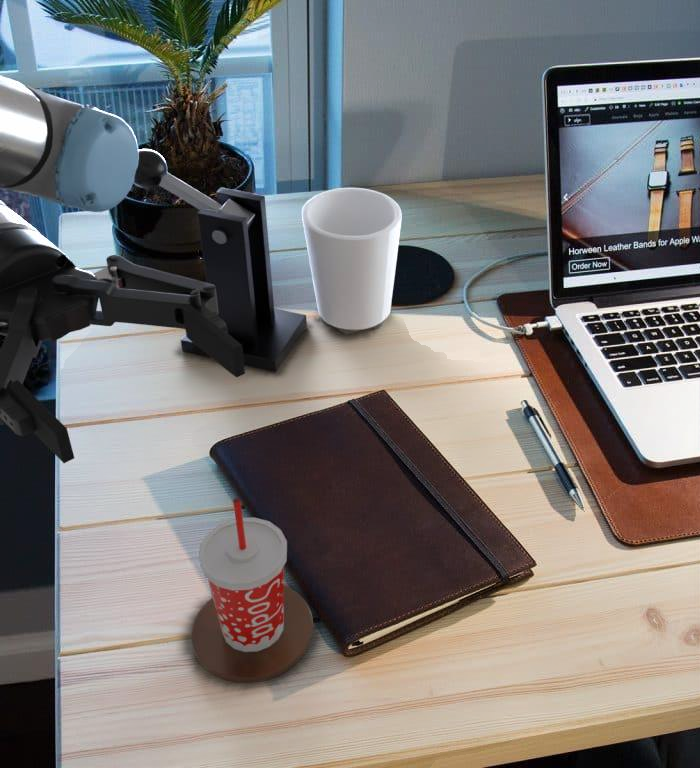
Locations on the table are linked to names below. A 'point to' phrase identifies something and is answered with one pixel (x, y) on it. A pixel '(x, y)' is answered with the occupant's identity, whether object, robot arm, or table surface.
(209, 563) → the beverage cup
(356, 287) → the cup
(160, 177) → the switch lever
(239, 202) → the switch bracket
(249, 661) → the coaster
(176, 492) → the table surface
